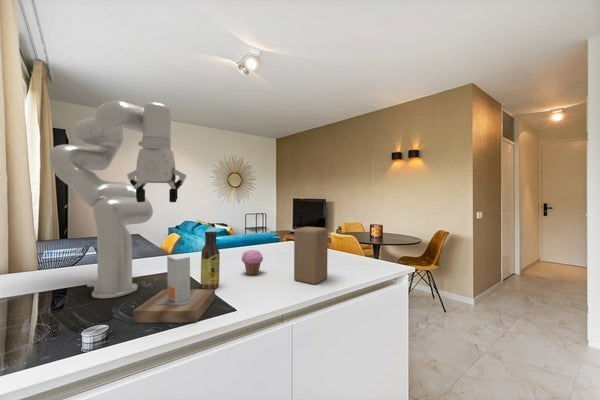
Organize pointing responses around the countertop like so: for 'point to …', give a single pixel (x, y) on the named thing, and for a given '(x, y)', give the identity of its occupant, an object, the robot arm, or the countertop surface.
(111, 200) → the robot arm
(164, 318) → the walnut picture frame
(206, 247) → the sauce bottle
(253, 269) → the cupcake
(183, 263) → the skincare box
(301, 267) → the wooden block
